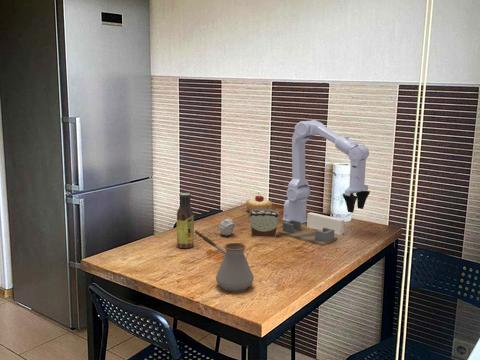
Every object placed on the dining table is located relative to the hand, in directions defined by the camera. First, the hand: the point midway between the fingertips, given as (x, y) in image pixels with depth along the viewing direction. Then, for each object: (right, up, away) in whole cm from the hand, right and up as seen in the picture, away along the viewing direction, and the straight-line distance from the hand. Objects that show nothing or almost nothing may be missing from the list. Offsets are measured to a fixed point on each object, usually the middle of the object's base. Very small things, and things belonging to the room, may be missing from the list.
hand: (355, 210), depth 210 cm
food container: (-36, -10, +1) cm, 38 cm away
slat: (-11, -9, +8) cm, 16 cm away
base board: (-19, -10, -1) cm, 22 cm away
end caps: (-19, -10, -1) cm, 22 cm away
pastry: (-37, -3, +35) cm, 51 cm away
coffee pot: (-51, -20, -46) cm, 72 cm away
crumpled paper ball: (-51, -10, 0) cm, 52 cm away
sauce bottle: (-66, -13, -13) cm, 68 cm away
